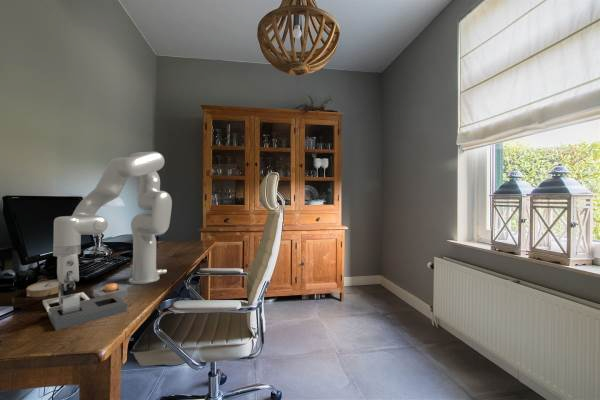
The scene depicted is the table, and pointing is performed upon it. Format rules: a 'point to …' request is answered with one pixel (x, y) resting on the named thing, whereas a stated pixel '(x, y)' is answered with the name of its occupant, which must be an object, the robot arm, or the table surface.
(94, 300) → the grey slotted frame
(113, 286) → the button cap
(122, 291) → the button housing
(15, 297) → the table surface
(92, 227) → the robot arm
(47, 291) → the alarm clock
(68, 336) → the table surface
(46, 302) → the tray
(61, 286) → the billet
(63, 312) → the block
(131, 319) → the table surface
